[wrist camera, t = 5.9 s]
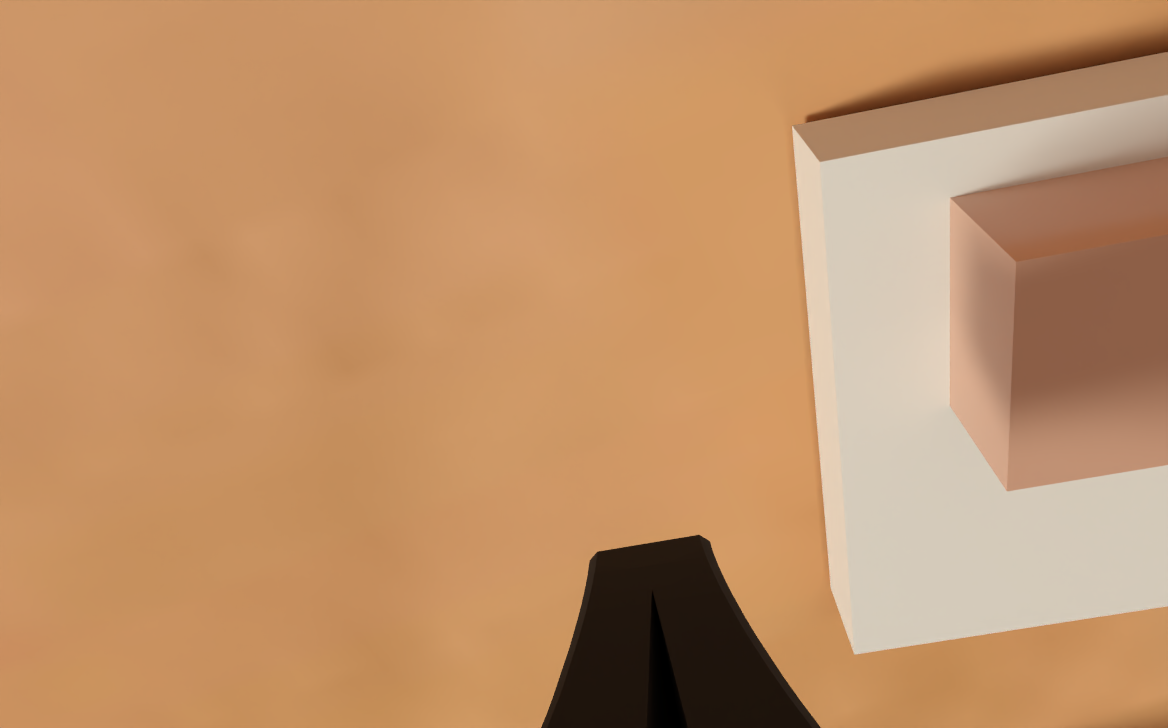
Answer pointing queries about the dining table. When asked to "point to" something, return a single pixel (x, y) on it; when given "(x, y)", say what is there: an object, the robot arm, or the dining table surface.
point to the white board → (922, 367)
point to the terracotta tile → (1063, 324)
